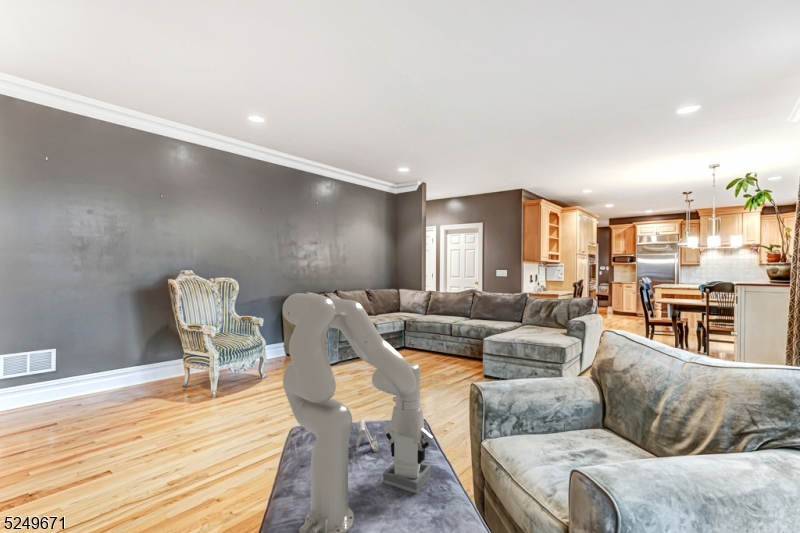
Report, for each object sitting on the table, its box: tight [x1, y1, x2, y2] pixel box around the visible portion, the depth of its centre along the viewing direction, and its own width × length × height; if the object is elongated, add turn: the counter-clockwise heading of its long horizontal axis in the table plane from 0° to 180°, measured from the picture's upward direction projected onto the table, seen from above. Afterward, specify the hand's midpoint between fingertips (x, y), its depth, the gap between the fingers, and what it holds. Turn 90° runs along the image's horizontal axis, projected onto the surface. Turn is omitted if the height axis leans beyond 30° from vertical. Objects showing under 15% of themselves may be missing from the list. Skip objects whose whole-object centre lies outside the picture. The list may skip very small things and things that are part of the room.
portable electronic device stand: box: [355, 419, 379, 452], centre depth 140 cm, size 9×8×8 cm
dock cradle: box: [382, 461, 433, 494], centre depth 119 cm, size 12×12×3 cm
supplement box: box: [393, 434, 420, 479], centre depth 119 cm, size 7×7×13 cm
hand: (407, 458), depth 119 cm, fingers closed on supplement box, 8 cm apart
